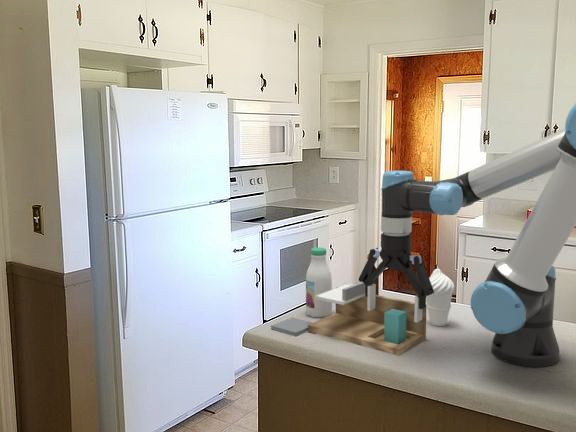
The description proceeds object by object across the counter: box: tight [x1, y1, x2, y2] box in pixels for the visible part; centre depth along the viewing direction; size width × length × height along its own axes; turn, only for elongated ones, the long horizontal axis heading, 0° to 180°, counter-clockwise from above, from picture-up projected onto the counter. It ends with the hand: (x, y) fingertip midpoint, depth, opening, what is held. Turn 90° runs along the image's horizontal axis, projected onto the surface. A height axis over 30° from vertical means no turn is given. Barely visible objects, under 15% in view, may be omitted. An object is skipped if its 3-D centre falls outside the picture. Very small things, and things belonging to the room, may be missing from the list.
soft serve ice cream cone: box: [426, 268, 455, 327], centre depth 159 cm, size 8×8×16 cm
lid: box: [316, 281, 365, 305], centre depth 156 cm, size 9×15×11 cm, turn 139°
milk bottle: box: [305, 247, 333, 318], centre depth 169 cm, size 8×8×20 cm
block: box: [384, 309, 406, 345], centre depth 146 cm, size 4×4×8 cm
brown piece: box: [307, 286, 427, 357], centre depth 151 cm, size 28×14×10 cm, turn 49°
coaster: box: [270, 316, 313, 337], centre depth 159 cm, size 9×9×1 cm
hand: (394, 315), depth 145 cm, fingers open, 13 cm apart
